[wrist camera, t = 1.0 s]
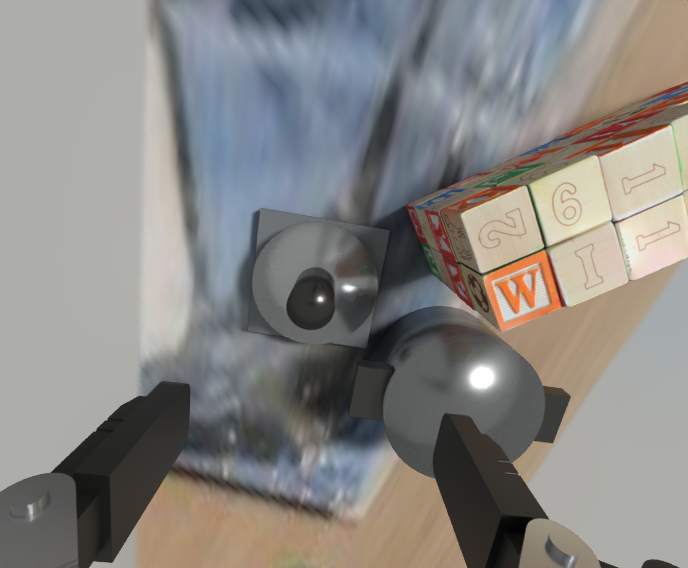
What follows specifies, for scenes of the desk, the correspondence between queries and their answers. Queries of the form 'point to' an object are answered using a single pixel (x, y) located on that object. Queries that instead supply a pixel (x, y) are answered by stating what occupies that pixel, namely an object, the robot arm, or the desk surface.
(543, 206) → the stack of blocks
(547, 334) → the desk surface
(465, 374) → the pot
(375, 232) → the plate
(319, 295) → the lid
